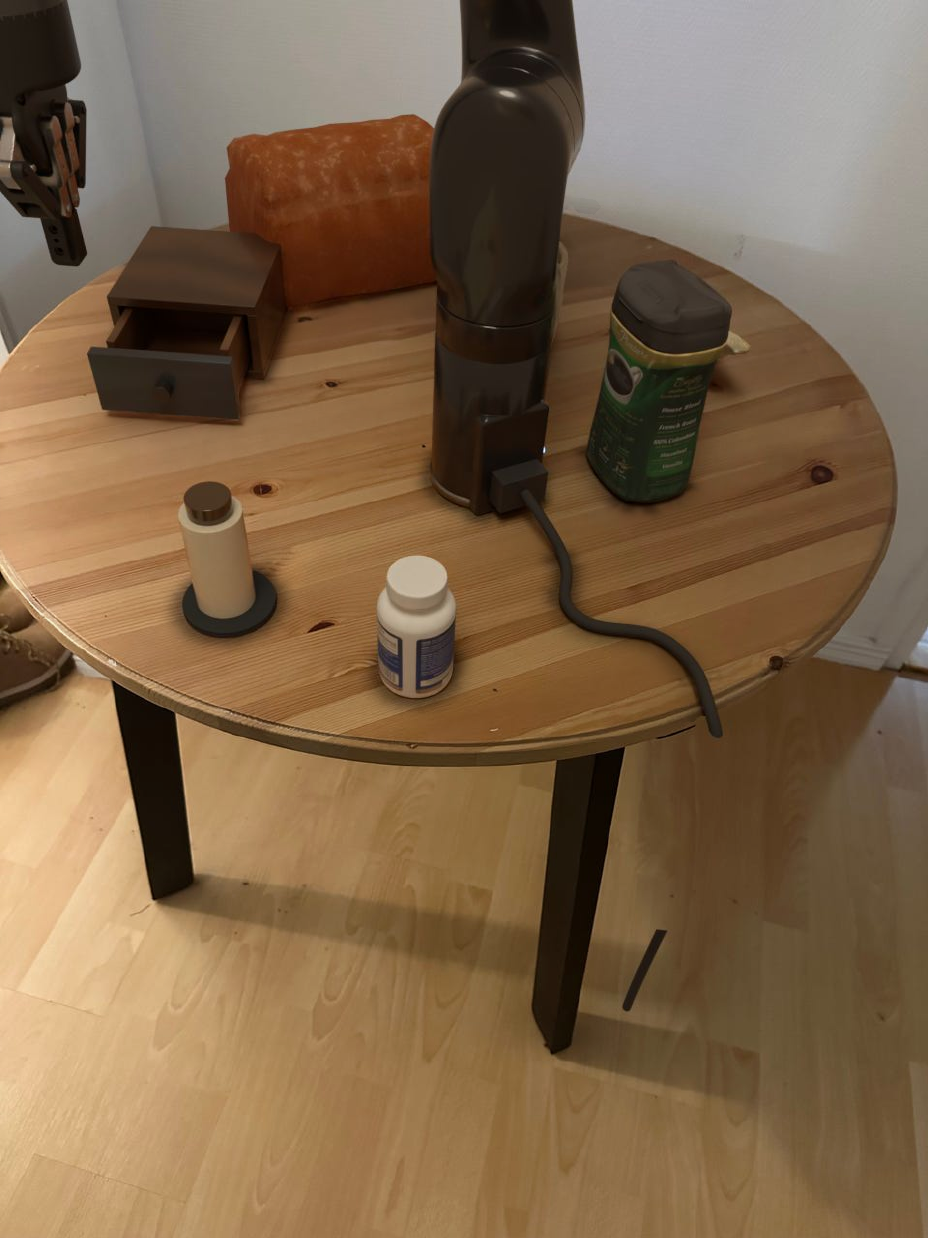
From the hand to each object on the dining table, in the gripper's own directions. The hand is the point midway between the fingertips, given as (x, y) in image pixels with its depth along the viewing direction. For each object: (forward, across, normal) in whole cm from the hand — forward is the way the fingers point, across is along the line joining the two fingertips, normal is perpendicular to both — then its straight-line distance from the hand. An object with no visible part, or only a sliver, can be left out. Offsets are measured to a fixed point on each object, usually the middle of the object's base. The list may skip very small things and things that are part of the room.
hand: (70, 260), depth 71 cm
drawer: (+17, +12, -3) cm, 21 cm away
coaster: (+18, -17, -13) cm, 28 cm away
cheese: (+18, +22, -52) cm, 59 cm away
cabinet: (+18, +21, -3) cm, 28 cm away
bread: (+18, +38, -15) cm, 45 cm away
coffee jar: (+18, +3, -46) cm, 49 cm away
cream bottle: (+18, -17, -13) cm, 28 cm away
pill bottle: (+18, -22, -28) cm, 40 cm away
